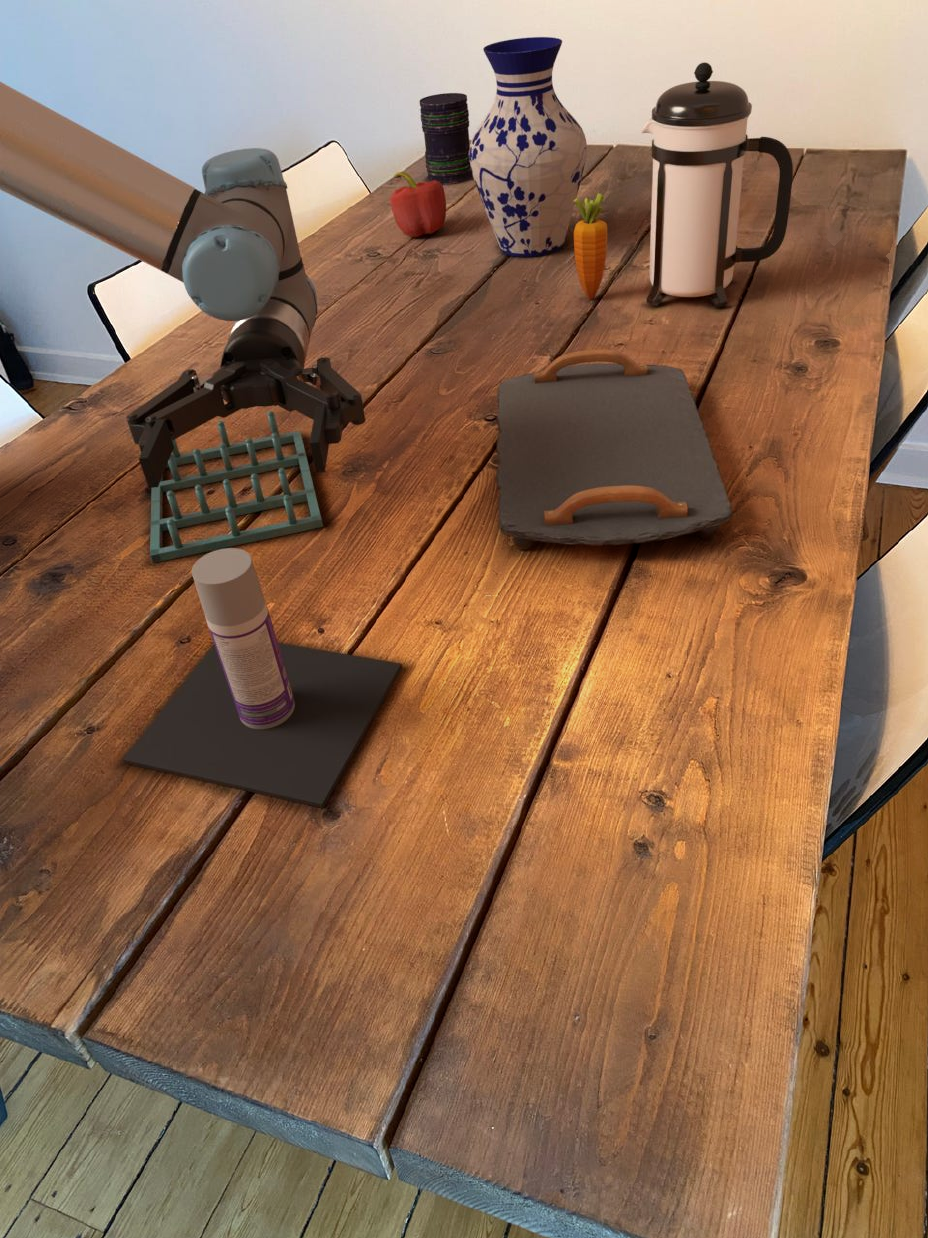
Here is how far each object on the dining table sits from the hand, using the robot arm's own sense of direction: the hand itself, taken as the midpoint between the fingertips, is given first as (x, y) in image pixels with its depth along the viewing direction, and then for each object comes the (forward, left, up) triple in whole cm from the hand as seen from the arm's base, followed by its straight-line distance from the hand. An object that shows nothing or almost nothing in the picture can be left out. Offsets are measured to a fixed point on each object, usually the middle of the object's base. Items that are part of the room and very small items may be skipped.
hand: (232, 465), depth 75 cm
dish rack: (-19, +20, -18) cm, 33 cm away
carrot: (+4, +82, -18) cm, 84 cm away
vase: (-13, +103, -18) cm, 106 cm away
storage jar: (-45, +141, -18) cm, 149 cm away
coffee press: (+19, +87, -18) cm, 91 cm away
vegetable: (-36, +107, -18) cm, 115 cm away
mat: (+4, -9, -18) cm, 21 cm away
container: (+4, -9, -18) cm, 20 cm away
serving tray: (+19, +37, -18) cm, 46 cm away
